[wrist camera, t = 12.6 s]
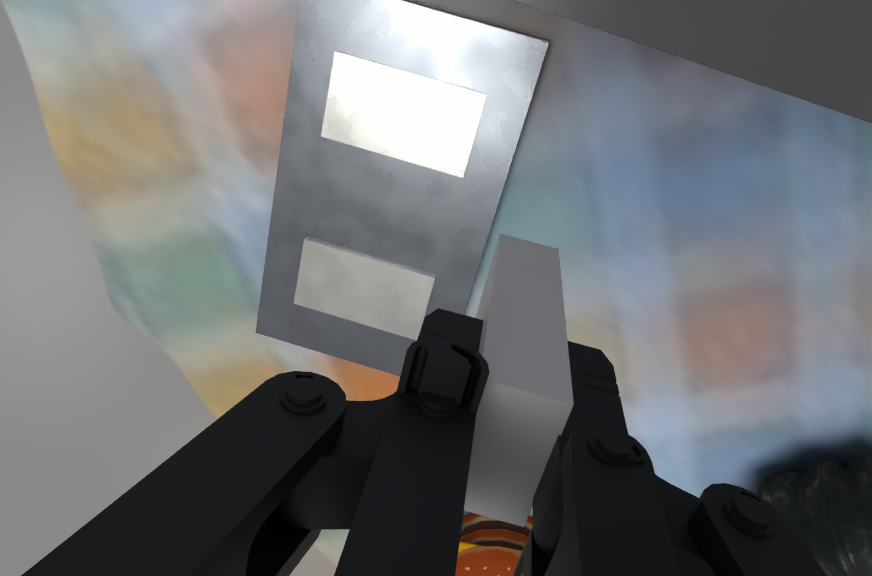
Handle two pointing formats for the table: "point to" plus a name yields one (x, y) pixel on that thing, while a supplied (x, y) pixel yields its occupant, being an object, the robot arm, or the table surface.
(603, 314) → the table surface
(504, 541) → the hamburger
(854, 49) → the cable arm
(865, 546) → the squash
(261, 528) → the robot arm
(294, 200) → the label panel
